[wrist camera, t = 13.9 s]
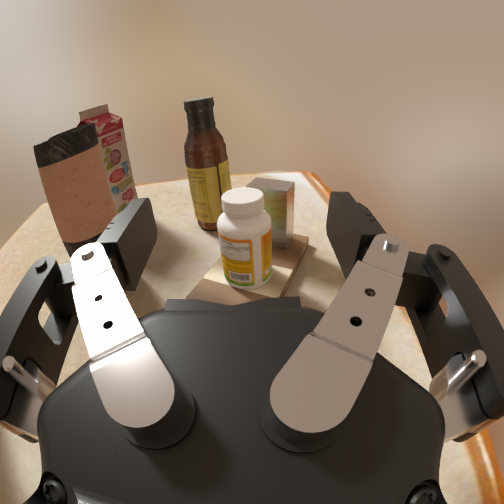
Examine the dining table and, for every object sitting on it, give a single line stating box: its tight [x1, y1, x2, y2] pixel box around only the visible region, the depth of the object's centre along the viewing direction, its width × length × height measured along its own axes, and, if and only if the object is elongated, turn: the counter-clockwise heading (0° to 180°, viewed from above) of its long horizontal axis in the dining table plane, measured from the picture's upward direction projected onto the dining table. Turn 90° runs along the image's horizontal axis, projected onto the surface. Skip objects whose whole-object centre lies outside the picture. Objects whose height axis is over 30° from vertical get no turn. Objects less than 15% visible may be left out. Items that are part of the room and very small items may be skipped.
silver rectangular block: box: [247, 178, 295, 250], centre depth 34 cm, size 3×5×8 cm, turn 66°
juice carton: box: [77, 104, 138, 214], centre depth 41 cm, size 7×7×22 cm
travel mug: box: [34, 122, 117, 258], centre depth 27 cm, size 8×8×20 cm
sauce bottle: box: [184, 97, 232, 230], centre depth 38 cm, size 6×6×20 cm
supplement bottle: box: [217, 187, 272, 290], centre depth 28 cm, size 5×5×10 cm
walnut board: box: [185, 234, 309, 305], centre depth 31 cm, size 21×9×1 cm, turn 156°
